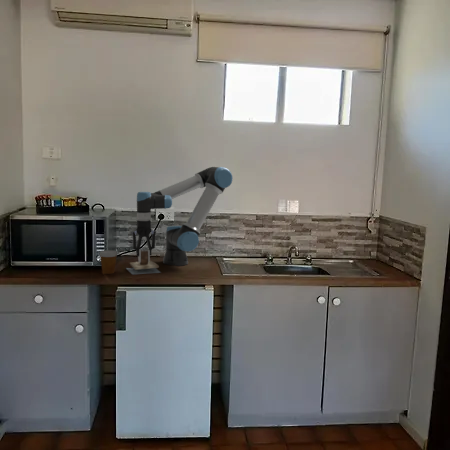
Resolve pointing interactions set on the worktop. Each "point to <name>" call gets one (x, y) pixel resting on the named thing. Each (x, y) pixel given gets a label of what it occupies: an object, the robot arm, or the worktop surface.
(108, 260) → the disposable coffee cup
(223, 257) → the worktop surface
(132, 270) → the mat
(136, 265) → the lid
